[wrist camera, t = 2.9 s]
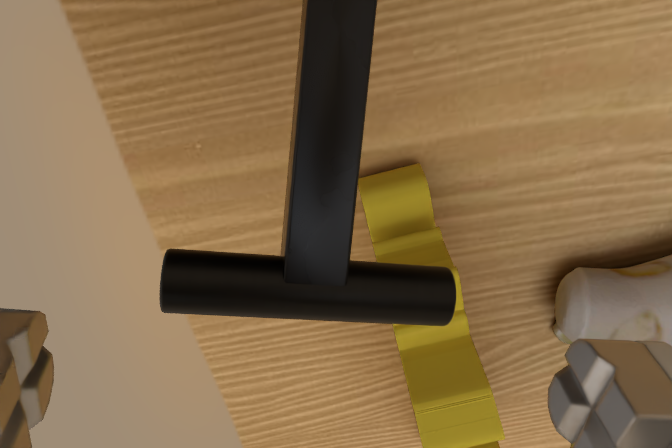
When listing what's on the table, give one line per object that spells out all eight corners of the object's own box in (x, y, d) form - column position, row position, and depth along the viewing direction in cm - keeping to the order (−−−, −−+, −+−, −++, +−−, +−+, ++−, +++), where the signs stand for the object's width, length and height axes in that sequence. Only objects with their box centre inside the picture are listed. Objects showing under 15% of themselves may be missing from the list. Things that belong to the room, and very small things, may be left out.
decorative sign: (354, 172, 26) (429, 471, 14) (416, 156, 26) (546, 445, 14) (419, 434, 38) (492, 727, 26) (463, 425, 38) (557, 714, 25)
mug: (535, 233, 30) (751, 313, 22) (642, 204, 35) (849, 262, 27) (516, 359, 32) (704, 472, 24) (619, 316, 37) (802, 398, 29)
